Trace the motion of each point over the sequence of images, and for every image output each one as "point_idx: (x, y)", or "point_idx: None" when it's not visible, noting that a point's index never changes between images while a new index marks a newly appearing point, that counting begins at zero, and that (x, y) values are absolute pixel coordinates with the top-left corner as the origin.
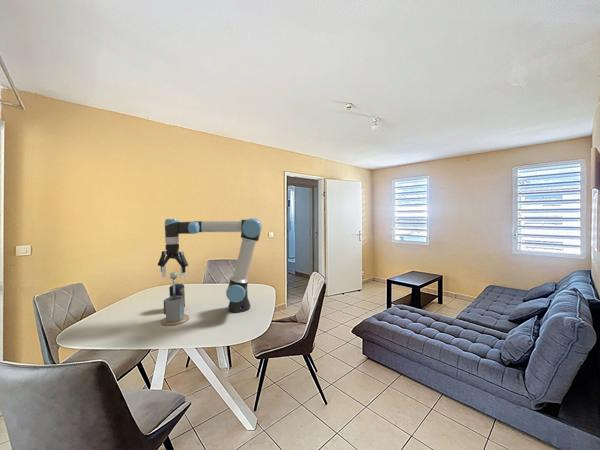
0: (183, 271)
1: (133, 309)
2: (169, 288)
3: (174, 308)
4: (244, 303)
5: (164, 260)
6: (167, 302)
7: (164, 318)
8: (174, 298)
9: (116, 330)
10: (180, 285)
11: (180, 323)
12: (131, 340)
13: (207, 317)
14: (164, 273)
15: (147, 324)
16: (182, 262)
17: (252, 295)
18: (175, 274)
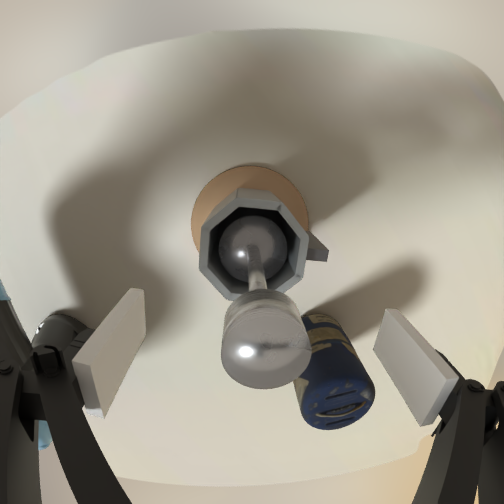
0: (81, 337)
1: (464, 304)
2: (369, 378)
3: (226, 201)
4: (32, 341)
5: (469, 467)
6: (268, 199)
7: (304, 227)
8: (249, 248)
9: (419, 125)
10: (317, 410)
11: (201, 191)
12: (305, 47)
13: (127, 265)
14: (394, 351)
15: (346, 176)
16: (11, 422)
17: (108, 442)
18: (225, 334)
